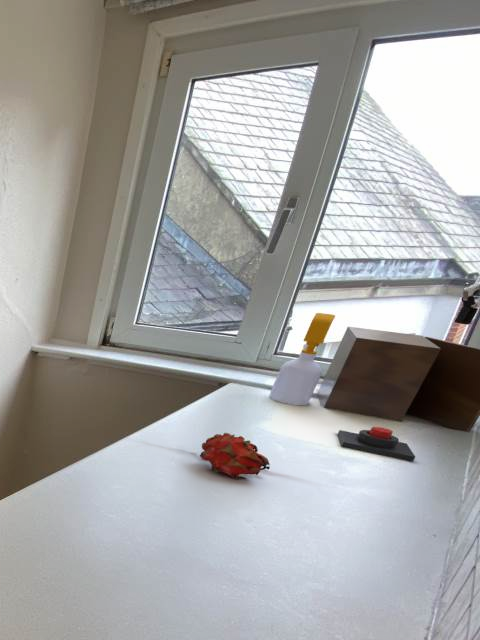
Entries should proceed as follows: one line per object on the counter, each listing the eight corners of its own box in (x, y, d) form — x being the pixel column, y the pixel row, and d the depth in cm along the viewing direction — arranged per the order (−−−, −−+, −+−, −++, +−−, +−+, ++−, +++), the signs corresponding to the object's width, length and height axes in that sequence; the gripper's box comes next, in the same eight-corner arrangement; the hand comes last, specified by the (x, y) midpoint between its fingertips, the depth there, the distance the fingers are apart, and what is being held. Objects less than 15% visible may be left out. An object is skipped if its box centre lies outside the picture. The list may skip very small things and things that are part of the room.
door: (408, 406, 158) (446, 337, 149) (488, 434, 138) (537, 357, 129) (387, 405, 158) (424, 336, 149) (464, 433, 138) (511, 356, 129)
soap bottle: (308, 404, 155) (348, 315, 144) (304, 410, 149) (346, 318, 138) (270, 396, 161) (306, 310, 150) (265, 402, 155) (302, 313, 144)
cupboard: (386, 405, 158) (422, 335, 149) (399, 425, 142) (441, 348, 133) (317, 393, 166) (347, 326, 157) (322, 410, 150) (356, 337, 141)
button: (387, 436, 123) (391, 429, 122) (390, 441, 120) (394, 433, 119) (367, 432, 124) (370, 425, 124) (369, 436, 122) (373, 429, 121)
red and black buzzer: (401, 452, 124) (411, 435, 123) (410, 466, 117) (420, 449, 115) (335, 438, 130) (342, 422, 129) (339, 450, 123) (347, 434, 121)
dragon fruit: (189, 466, 114) (250, 496, 107) (187, 453, 108) (252, 484, 100) (215, 433, 114) (278, 461, 106) (215, 418, 107) (282, 446, 100)
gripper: (505, 251, 128) (465, 326, 135) (568, 254, 129) (525, 328, 137) (469, 249, 134) (433, 320, 142) (530, 252, 136) (490, 322, 144)
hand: (478, 324), depth 139 cm, fingers open, 9 cm apart
